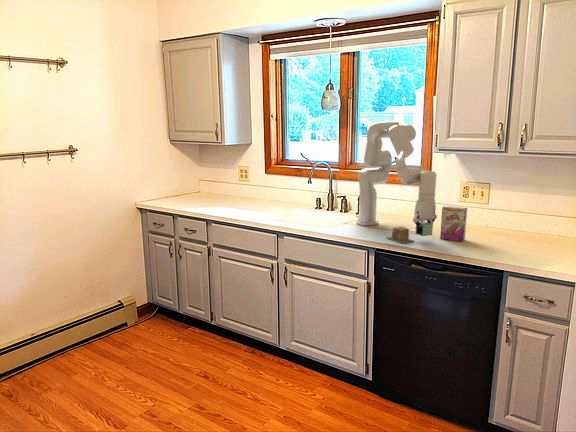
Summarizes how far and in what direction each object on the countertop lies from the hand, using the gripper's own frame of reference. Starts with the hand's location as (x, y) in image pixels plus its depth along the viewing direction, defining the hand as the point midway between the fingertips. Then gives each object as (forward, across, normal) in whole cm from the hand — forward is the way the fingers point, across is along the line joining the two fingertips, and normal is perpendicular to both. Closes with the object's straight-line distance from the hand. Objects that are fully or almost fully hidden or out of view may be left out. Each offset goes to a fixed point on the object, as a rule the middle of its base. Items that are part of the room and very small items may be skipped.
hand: (423, 233), depth 231 cm
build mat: (+5, +8, -8) cm, 12 cm away
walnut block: (+4, +8, -8) cm, 12 cm away
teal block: (+1, 0, 0) cm, 1 cm away
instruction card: (+5, -12, -21) cm, 25 cm away
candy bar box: (+4, -15, +5) cm, 16 cm away
